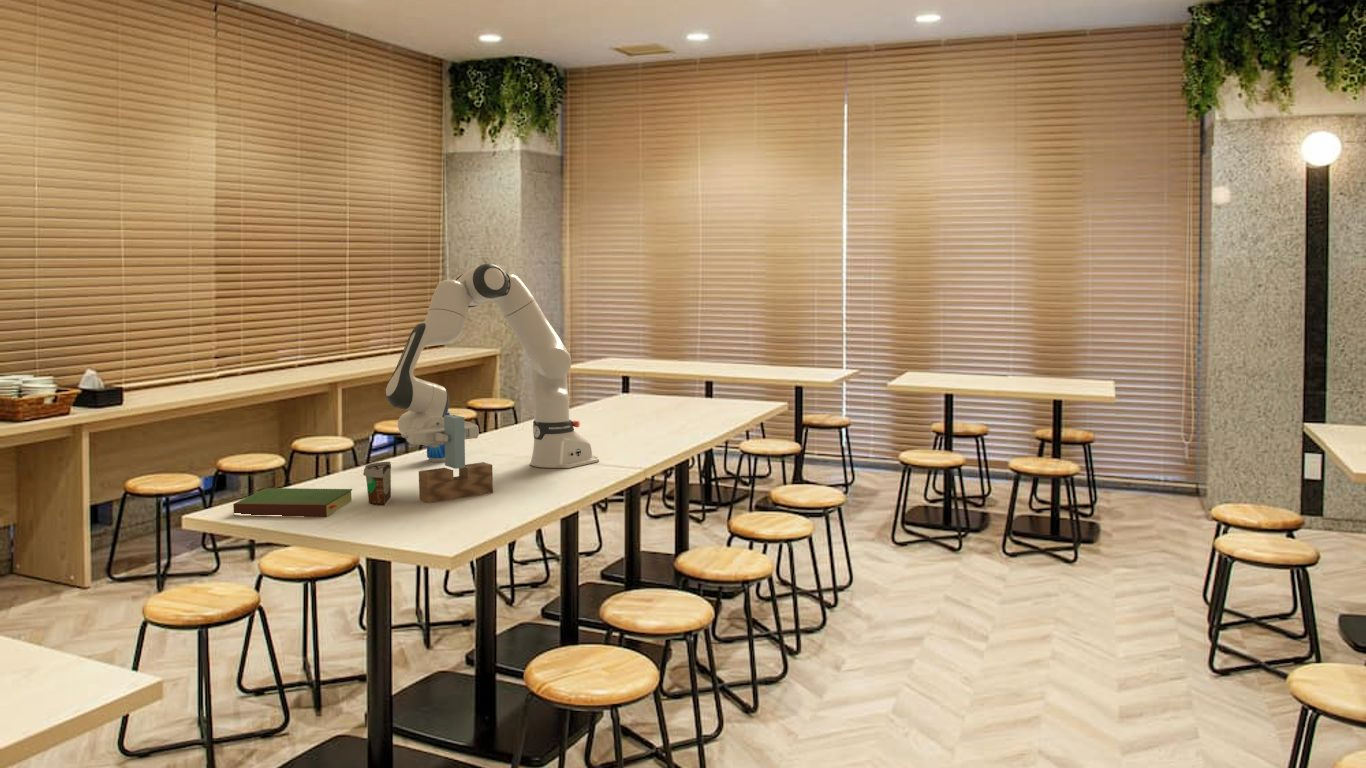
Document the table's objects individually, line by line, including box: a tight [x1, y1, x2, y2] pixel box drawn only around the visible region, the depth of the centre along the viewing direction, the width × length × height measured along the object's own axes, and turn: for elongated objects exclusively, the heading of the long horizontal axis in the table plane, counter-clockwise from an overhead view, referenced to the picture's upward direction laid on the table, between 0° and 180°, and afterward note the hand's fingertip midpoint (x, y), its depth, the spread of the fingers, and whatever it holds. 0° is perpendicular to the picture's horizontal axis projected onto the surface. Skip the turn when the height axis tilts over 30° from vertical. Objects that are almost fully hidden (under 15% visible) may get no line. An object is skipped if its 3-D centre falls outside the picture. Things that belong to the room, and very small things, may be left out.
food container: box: [363, 461, 392, 507], centre depth 292 cm, size 12×6×10 cm, turn 5°
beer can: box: [426, 410, 451, 463], centre depth 352 cm, size 8×8×16 cm
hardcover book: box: [232, 487, 353, 518], centre depth 286 cm, size 25×19×4 cm
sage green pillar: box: [444, 414, 466, 470], centre depth 298 cm, size 3×6×14 cm, turn 40°
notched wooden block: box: [418, 461, 494, 504], centre depth 299 cm, size 20×5×8 cm, turn 130°
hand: (456, 437), depth 297 cm, fingers closed on sage green pillar, 3 cm apart
